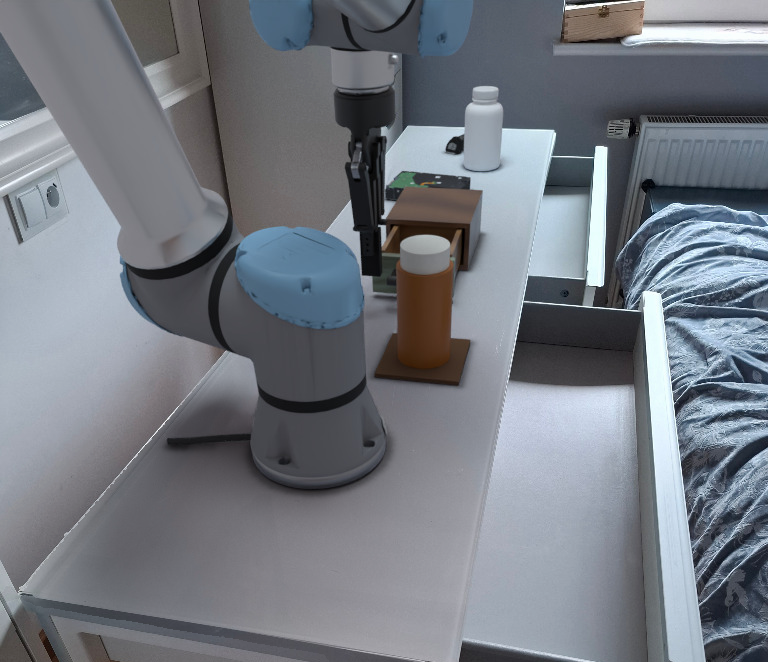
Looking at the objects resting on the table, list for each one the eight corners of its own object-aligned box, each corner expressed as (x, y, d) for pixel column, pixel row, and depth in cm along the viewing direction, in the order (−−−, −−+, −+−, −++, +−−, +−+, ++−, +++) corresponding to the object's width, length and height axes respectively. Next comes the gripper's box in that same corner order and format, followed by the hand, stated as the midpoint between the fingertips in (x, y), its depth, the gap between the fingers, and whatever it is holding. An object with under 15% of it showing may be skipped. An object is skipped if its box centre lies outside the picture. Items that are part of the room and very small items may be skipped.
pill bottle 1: (407, 373, 92) (406, 259, 82) (391, 347, 97) (388, 237, 87) (457, 363, 94) (463, 251, 84) (439, 339, 99) (442, 229, 89)
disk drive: (470, 191, 145) (401, 183, 149) (471, 176, 143) (401, 169, 147) (456, 208, 138) (384, 200, 142) (456, 193, 136) (384, 185, 140)
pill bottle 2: (487, 158, 160) (492, 82, 150) (506, 168, 155) (512, 90, 144) (456, 164, 158) (459, 87, 148) (474, 174, 152) (478, 94, 142)
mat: (458, 385, 91) (458, 381, 90) (374, 377, 93) (374, 373, 93) (470, 343, 99) (470, 339, 98) (392, 336, 101) (392, 332, 100)
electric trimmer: (492, 139, 172) (493, 125, 170) (457, 155, 163) (458, 139, 161) (479, 137, 174) (480, 122, 172) (443, 152, 165) (444, 137, 162)
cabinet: (467, 270, 116) (470, 223, 111) (386, 265, 119) (385, 218, 114) (480, 234, 128) (482, 190, 123) (405, 230, 130) (405, 186, 125)
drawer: (448, 311, 104) (449, 272, 100) (366, 304, 106) (364, 266, 103) (466, 259, 118) (468, 223, 114) (393, 254, 120) (392, 219, 116)
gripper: (381, 101, 81) (387, 296, 97) (405, 75, 91) (406, 257, 106) (318, 99, 83) (334, 292, 99) (348, 74, 92) (358, 254, 108)
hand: (372, 273), depth 102 cm, fingers closed
